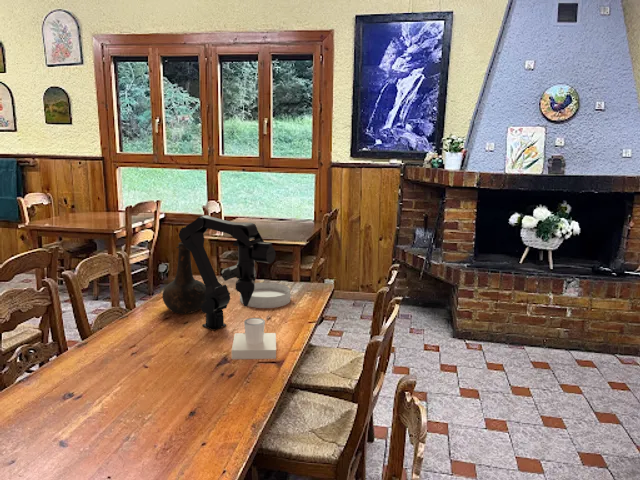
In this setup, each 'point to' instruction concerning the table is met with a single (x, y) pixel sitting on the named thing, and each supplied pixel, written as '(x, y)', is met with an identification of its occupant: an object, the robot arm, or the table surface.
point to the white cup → (254, 330)
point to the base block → (254, 347)
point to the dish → (269, 295)
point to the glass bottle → (184, 287)
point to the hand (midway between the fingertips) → (246, 302)
